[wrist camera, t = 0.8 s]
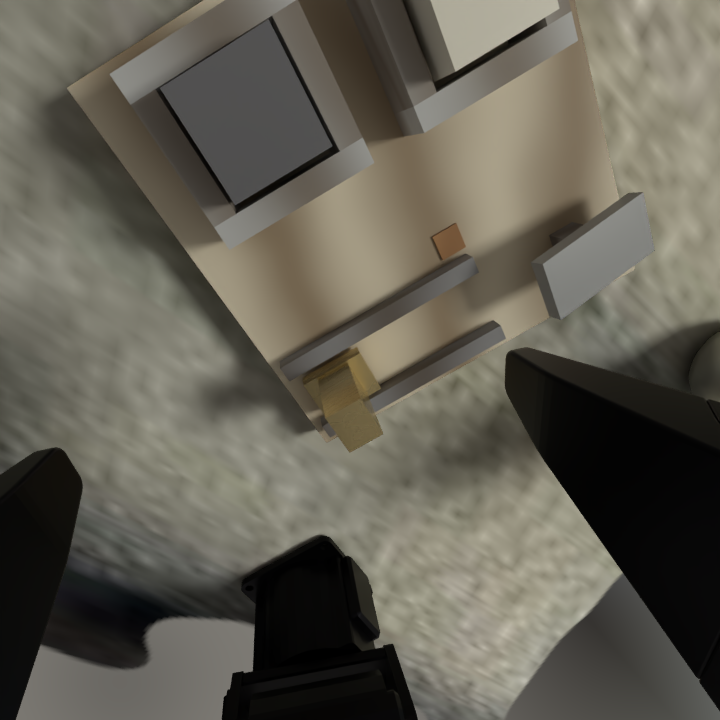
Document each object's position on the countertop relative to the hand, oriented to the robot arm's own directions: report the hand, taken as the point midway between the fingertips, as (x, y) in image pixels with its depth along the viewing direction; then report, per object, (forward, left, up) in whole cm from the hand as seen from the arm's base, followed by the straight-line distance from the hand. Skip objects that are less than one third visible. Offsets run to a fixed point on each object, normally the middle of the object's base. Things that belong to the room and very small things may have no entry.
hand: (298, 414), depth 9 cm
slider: (0, -6, -11) cm, 13 cm away
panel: (+6, 0, -13) cm, 14 cm away
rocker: (+12, -6, -9) cm, 16 cm away
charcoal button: (+2, +5, -10) cm, 11 cm away
